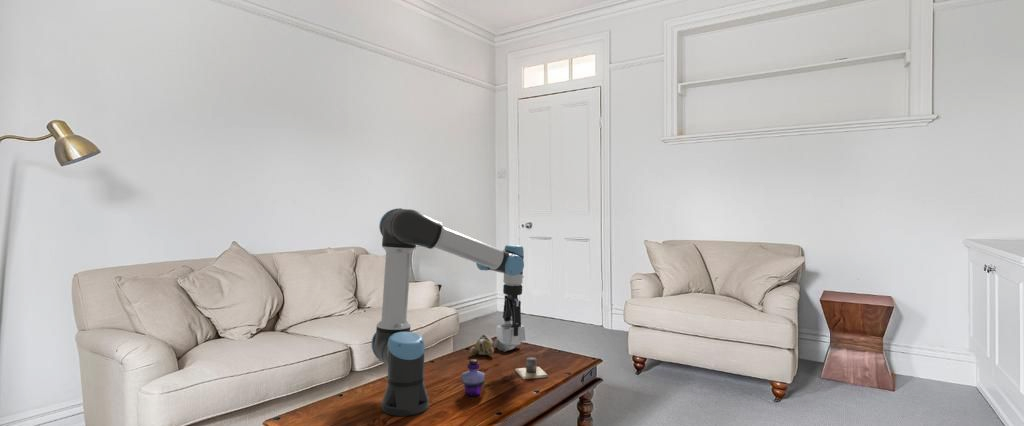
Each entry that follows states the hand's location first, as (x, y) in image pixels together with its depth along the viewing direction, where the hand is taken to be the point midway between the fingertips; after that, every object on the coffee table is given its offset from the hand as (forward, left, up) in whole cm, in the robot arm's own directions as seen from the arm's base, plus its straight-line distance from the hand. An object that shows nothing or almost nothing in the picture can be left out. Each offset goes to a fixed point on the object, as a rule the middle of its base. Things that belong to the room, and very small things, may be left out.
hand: (510, 340), depth 209 cm
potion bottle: (-20, -19, -13) cm, 30 cm away
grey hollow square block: (0, 0, 0) cm, 0 cm away
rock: (+8, +33, -13) cm, 36 cm away
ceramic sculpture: (-4, +27, -13) cm, 30 cm away
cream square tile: (+7, -4, -13) cm, 15 cm away
